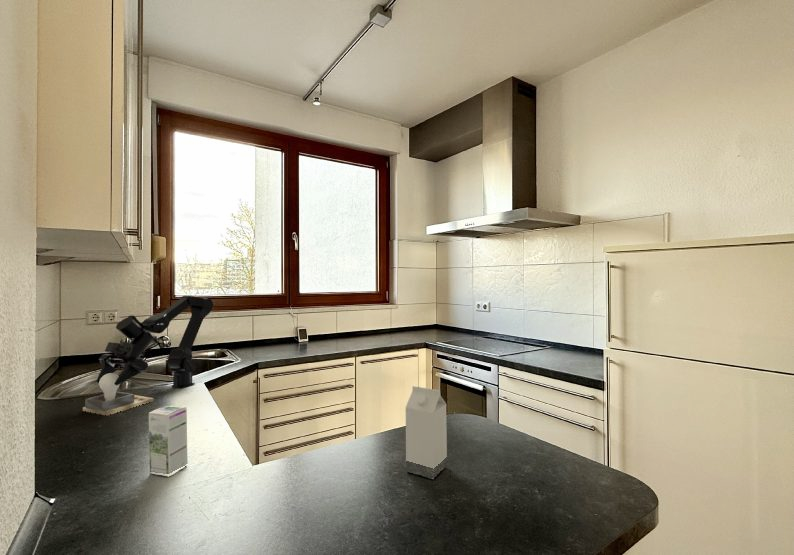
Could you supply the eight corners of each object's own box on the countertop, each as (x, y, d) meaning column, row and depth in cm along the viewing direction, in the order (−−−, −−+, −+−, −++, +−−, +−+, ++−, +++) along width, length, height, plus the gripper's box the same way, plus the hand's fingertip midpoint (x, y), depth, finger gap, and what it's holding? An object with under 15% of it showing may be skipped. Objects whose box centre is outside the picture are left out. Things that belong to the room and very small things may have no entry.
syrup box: (188, 466, 93) (188, 405, 93) (168, 478, 87) (167, 414, 87) (169, 463, 94) (169, 403, 94) (148, 475, 89) (147, 412, 89)
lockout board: (130, 397, 148) (130, 386, 148) (153, 401, 143) (153, 390, 143) (82, 410, 133) (82, 398, 133) (106, 415, 128) (106, 403, 128)
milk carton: (420, 460, 95) (419, 382, 95) (447, 467, 91) (446, 386, 91) (405, 473, 89) (405, 390, 89) (434, 481, 85) (433, 394, 85)
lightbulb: (109, 402, 138) (109, 371, 139) (125, 402, 138) (125, 371, 138) (94, 407, 132) (94, 375, 133) (111, 407, 132) (111, 375, 132)
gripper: (104, 332, 142) (70, 368, 132) (140, 334, 136) (107, 373, 125) (126, 349, 149) (95, 385, 139) (160, 352, 143) (131, 390, 133)
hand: (106, 383), depth 134 cm, fingers open, 9 cm apart
